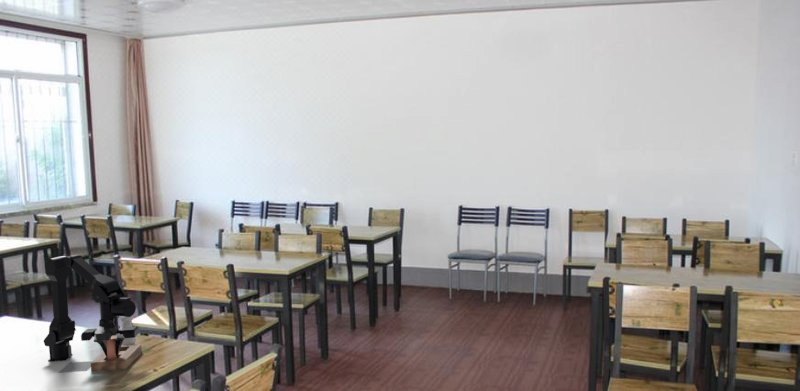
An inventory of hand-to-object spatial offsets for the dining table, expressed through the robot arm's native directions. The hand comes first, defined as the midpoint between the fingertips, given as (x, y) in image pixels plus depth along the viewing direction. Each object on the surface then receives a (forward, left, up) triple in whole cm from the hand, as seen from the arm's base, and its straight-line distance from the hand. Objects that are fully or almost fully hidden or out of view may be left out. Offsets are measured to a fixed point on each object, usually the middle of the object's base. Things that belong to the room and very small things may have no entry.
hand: (112, 356), depth 226 cm
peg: (0, 0, -2) cm, 3 cm away
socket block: (0, +4, -4) cm, 6 cm away
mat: (-13, +1, -4) cm, 14 cm away
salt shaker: (-2, +22, -4) cm, 23 cm away
